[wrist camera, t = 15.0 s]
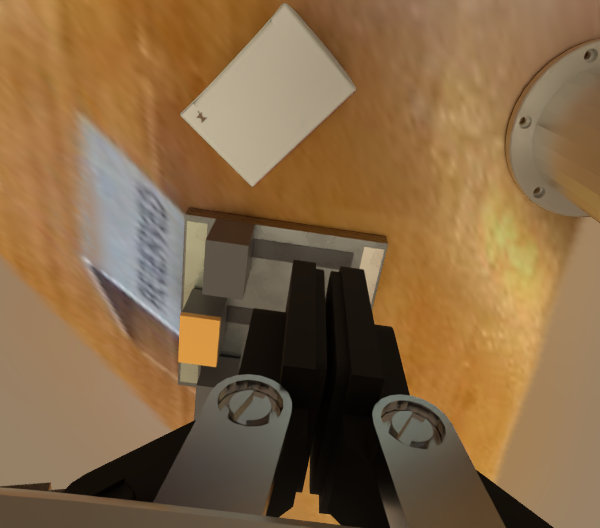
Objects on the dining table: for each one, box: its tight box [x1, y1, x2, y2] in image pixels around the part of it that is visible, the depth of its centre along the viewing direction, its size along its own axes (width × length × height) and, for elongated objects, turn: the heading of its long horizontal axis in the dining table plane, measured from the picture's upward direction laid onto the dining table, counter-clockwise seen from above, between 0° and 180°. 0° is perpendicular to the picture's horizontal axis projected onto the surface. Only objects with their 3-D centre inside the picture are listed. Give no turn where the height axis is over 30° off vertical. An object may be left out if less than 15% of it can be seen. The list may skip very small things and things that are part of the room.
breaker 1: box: [202, 219, 255, 300], centre depth 37 cm, size 3×4×4 cm
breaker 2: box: [194, 356, 240, 421], centre depth 43 cm, size 3×4×4 cm
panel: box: [178, 208, 388, 387], centre depth 43 cm, size 16×17×2 cm
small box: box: [180, 3, 356, 187], centre depth 30 cm, size 8×6×10 cm
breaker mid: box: [178, 289, 228, 367], centre depth 40 cm, size 3×4×4 cm
